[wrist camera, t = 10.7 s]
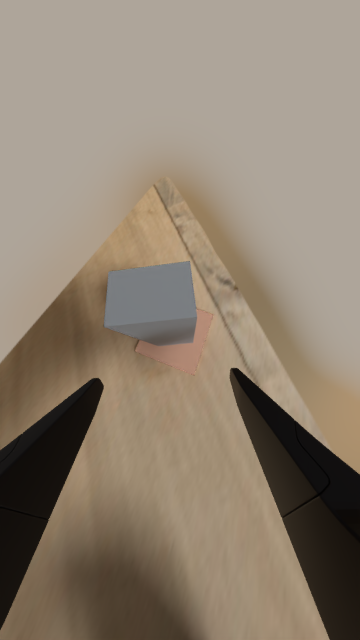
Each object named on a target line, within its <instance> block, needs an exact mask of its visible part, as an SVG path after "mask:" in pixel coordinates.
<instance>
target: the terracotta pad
mask: <svg viewBox="0 0 360 640" xmlns="http://www.w3.org/2000/svg"><path fill="white" fill-rule="evenodd" d="M196 311H197V322H196V328H195V334H194V340H193V343H187V344H176V345H166V346H156V345H153V344H151V343H148V342H145V341H142V340H139V343H138V345H137V347H136V349H135V351H136V352H138V353H140V354H143V355H145V356H148V357H150V358H153V359H155V360H157V361H160V362H162V363H165V364H167V365H170V366H172V367H174V368H177V369H179V370H182V371H184V372H187V373H189V374H191V375H195V371H196V368H197V365H198V362H199V359H200V356H201V353H202V350H203V347H204V343H205V340H206V337H207V334H208V331H209V328H210V325H211V322H212V319H213V315H214V314H211V313H208V312H204V311H201V310H198V309H196Z"/></svg>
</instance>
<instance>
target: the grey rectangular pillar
mask: <svg viewBox="0 0 360 640" xmlns="http://www.w3.org/2000/svg"><path fill="white" fill-rule="evenodd" d="M196 322H197V311H196V304H195V296H194V289H193V281H192V273H191V266H190V261H187V262H179V263H172V264H164V265H156V266H148V267H141V268H133V269H125V270H118V271H110V272H109V274H108V285H107V296H106V307H105V319H104V327H106V328H108V329H111V330H114V331H117V332H120V333H122V334H125V335H128V336H131V337H134V338H137V339H139V340H142V341H145V342H148V343H151V344H153V345H156V346H166V345H176V344H187V343H193V340H194V334H195V328H196Z"/></svg>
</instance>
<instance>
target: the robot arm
mask: <svg viewBox="0 0 360 640" xmlns="http://www.w3.org/2000/svg"><path fill="white" fill-rule="evenodd" d="M230 382H231V385H232V389H233V392H234V396H235V399H236V403H237V406H238V408H239V411H240V414H241V416H242V419H243V421H244V424H245V426H246V429H247V431H248V434H249V436H250V439H251V441H252V444H253V446H254V449H255V452H256V454H257V457H258V459H259V462H260V464H261V467H262V469H263V472H264V474H265V477H266V479H267V482H268V484H269V487H270V490H271V492H272V495H273V497H274V500H275V502H276V505H277V507H278V510H279V512H280V515H281V517H282V520H283V523H284V525H285V528H286V530H287V533H288V535H289V538H290V540H291V543H292V545H293V548H294V551H295V553H296V556H297V558H298V561H299V563H300V566H301V568H302V571H303V573H304V576H305V578H306V581H307V583H308V586H309V589H310V591H311V594H312V596H313V599H314V601H315V604H316V606H317V609H318V611H319V614H320V616H321V619H322V621H323V624H324V627H325V629H326V632H327V634H328V636H329V639H330V640H360V474H358V473H357V472H356V471H355V470H353V469H352V468H351V467H350V466H348V465H347V464H346V463H345V462H343V461H342V460H341V459H340V458H339V457H337V456H336V455H335V454H334V453H332V452H331V451H330V450H329V449H328V448H326V447H325V446H324V445H323V444H322V443H320V442H319V441H318V440H317V439H316V438H315V437H313V436H312V435H311V434H310V433H309V432H308V431H307V430H305V429H304V428H303V427H302V426H301V425H300V424H299V423H298V422H297V421H294V419H293V418H292V417H291V416H290V415H289V414H288V413H287V412H285V411H284V410H283V409H282V408H281V407H280V406H279V405H278V404H277V403H276V402H274V401H273V400H272V399H271V398H270V397H269V396H268V395H267V394H266V393H264V392H263V391H262V390H261V389H260V388H259V387H258V386H257V385H256V384H255V383H253V382H252V381H251V380H250V379H249V378H248V377H247V376H246V375H245V374H243V373H242V372H241V371H240V370H239V369H238V368H231V369H230ZM103 389H104V386H103V384H102V382H101V380H100V379H99V378H93V379H91V380H90V381H88V382H87V383H86V384H85V385H83V386H82V387H81V388H79V389H78V390H77V391H76V392H74V393H73V394H72V395H71V396H69V397H68V398H67V399H65V400H64V401H63V402H62V403H60V404H59V405H58V406H56V407H55V408H54V409H53V410H51V411H50V412H49V413H48V414H46V415H45V416H44V417H42V418H41V419H40V420H39V421H37V422H36V423H35V424H34V425H32V426H31V427H30V428H28V429H27V430H26V431H25V432H23V434H21V435H19V436H18V437H17V438H16V439H14V440H13V441H12V442H11V443H9V444H8V445H7V446H5V447H4V448H3V449H1V450H0V630H1V627H2V625H3V623H4V621H5V619H6V617H7V615H8V613H9V610H10V608H11V606H12V603H13V601H14V599H15V597H16V594H17V592H18V590H19V587H20V585H21V583H22V580H23V578H24V576H25V574H26V571H27V569H28V567H29V564H30V562H31V560H32V557H33V555H34V553H35V551H36V548H37V546H38V544H39V541H40V539H41V537H42V534H43V532H44V530H45V528H46V525H47V523H48V521H49V520H48V519H49V518H50V516H51V514H52V511H53V509H54V507H55V504H56V502H57V500H58V497H59V495H60V493H61V491H62V488H63V486H64V484H65V481H66V479H67V477H68V475H69V472H70V470H71V468H72V465H73V463H74V461H75V458H76V456H77V454H78V452H79V449H80V447H81V445H82V442H83V440H84V438H85V435H86V433H87V431H88V429H89V426H90V424H91V422H92V419H93V417H94V415H95V412H96V409H97V407H98V404H99V401H100V398H101V395H102V392H103Z"/></svg>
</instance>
